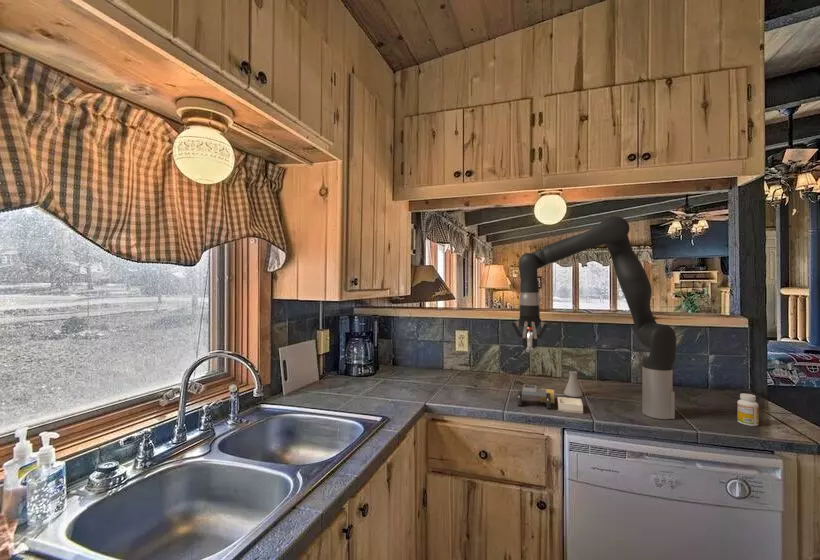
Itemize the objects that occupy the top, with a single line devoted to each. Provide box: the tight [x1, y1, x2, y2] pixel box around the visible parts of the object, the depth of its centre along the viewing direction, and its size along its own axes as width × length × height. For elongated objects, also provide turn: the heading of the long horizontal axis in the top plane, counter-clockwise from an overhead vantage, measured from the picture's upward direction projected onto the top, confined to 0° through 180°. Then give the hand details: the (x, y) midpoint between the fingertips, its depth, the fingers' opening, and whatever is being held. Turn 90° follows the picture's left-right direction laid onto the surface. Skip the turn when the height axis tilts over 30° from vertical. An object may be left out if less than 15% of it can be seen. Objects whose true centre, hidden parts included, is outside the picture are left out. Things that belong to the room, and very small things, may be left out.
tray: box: [557, 396, 584, 414], centre depth 144 cm, size 8×8×3 cm
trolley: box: [517, 384, 552, 410], centre depth 149 cm, size 12×8×7 cm, turn 71°
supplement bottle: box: [736, 393, 760, 427], centre depth 130 cm, size 5×5×10 cm
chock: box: [540, 388, 555, 405], centre depth 154 cm, size 5×4×4 cm
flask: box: [563, 370, 584, 398], centre depth 162 cm, size 7×7×10 cm
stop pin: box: [525, 327, 535, 354], centre depth 149 cm, size 4×4×10 cm
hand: (529, 347), depth 149 cm, fingers closed on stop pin, 2 cm apart
